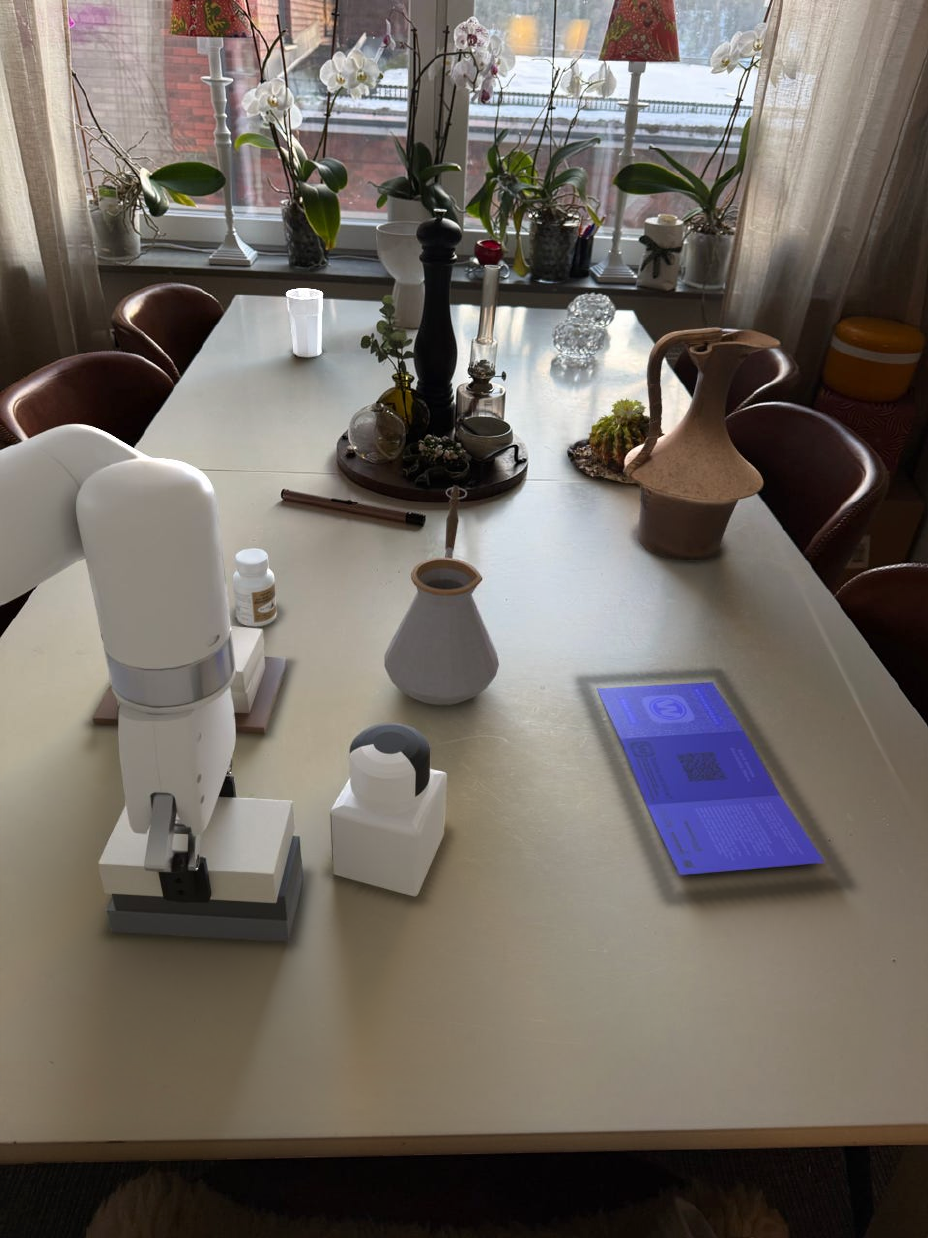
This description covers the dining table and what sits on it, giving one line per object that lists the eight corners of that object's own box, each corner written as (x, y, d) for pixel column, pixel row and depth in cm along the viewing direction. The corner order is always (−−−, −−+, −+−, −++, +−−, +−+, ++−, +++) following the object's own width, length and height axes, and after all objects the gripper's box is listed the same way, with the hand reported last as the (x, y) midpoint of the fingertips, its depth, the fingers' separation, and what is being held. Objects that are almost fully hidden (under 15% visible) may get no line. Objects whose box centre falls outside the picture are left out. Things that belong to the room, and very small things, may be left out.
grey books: (111, 933, 68) (100, 887, 66) (138, 869, 73) (128, 824, 71) (288, 943, 68) (284, 898, 66) (303, 879, 73) (300, 834, 71)
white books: (93, 726, 87) (82, 674, 84) (132, 656, 96) (123, 607, 93) (265, 736, 87) (260, 685, 84) (287, 665, 96) (283, 617, 93)
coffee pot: (495, 723, 90) (506, 591, 82) (376, 714, 90) (375, 582, 82) (501, 604, 108) (510, 485, 100) (402, 597, 108) (403, 478, 100)
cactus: (549, 445, 147) (555, 384, 141) (640, 436, 151) (649, 378, 146) (595, 492, 133) (604, 428, 128) (693, 482, 138) (706, 419, 132)
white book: (104, 893, 65) (97, 864, 64) (137, 820, 71) (131, 791, 69) (276, 903, 65) (273, 874, 64) (294, 829, 71) (292, 800, 69)
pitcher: (636, 580, 114) (675, 352, 98) (592, 515, 128) (620, 306, 112) (768, 570, 117) (826, 348, 102) (711, 508, 131) (755, 304, 115)
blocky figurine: (365, 813, 80) (363, 703, 73) (445, 834, 78) (450, 723, 71) (331, 876, 74) (326, 762, 67) (417, 899, 72) (420, 786, 66)
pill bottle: (265, 631, 101) (259, 570, 97) (229, 623, 102) (222, 561, 98) (284, 611, 105) (280, 550, 100) (249, 602, 106) (243, 542, 101)
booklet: (712, 682, 97) (713, 676, 97) (822, 868, 77) (825, 862, 76) (596, 688, 95) (597, 683, 95) (678, 881, 75) (679, 875, 74)
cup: (309, 360, 174) (306, 300, 168) (282, 353, 177) (278, 293, 171) (332, 352, 179) (330, 293, 173) (305, 344, 182) (302, 286, 176)
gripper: (154, 581, 65) (185, 770, 75) (56, 748, 51) (109, 954, 61) (262, 587, 65) (278, 775, 75) (193, 756, 51) (225, 961, 61)
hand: (202, 854), depth 68 cm, fingers closed on white book, 7 cm apart
